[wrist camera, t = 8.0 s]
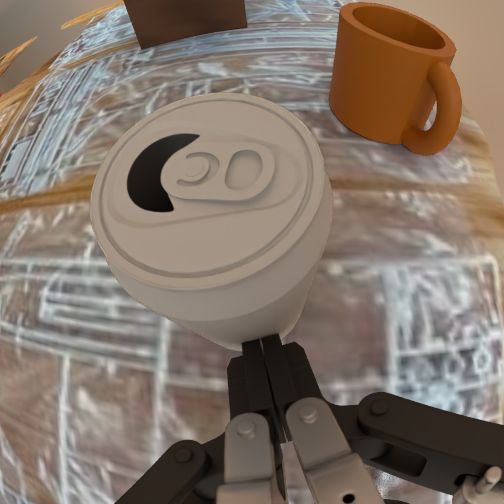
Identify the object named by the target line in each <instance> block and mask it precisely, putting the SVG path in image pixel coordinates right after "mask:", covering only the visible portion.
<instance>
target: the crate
mask: <svg viewBox="0 0 504 504" xmlns="http://www.w3.org/2000/svg"><path fill="white" fill-rule="evenodd" d="M123 1H124V3H125V6H126V9H127V12H128V14H129V17H130V20H131V22H132V25H133V28H134V31H135V33H136V36H137V39H138V41H139V44H140V46H141V49H145V48H148V47H151V46H155V45H159V44H162V43H166V42H170V41H174V40H178V39H182V38H187V37H191V36H196V35H201V34H206V33H212V32H218V31H224V30H230V29H237V28H245V27H247V20H246V12H245V4H244V0H123Z"/></svg>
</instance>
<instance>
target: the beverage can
mask: <svg viewBox="0 0 504 504" xmlns="http://www.w3.org/2000/svg"><path fill="white" fill-rule="evenodd" d="M90 217H91V223H92V228H93V232H94V235H95V237H96V240H97V242H98V244H99V246H100V247H101V249H102V250H103V252H104V254H105V257H106V260H107V263H108V265H109V267H110V269H111V271H112V273H113V275H114V276H115V278H116V279H117V281H118V282H119V283H120V285H121V286H122V287H123V288H124V290H125V291H126V292H127V293H128V294H130V295H131V296H132V297H133V298H134V299H135V300H137V301H138V302H139V303H141V304H142V305H144V306H146V307H148V308H149V309H151V310H153V311H155V312H157V313H158V314H160V315H162V316H164V317H166V318H168V319H169V320H171V321H173V322H175V323H177V324H179V325H181V326H183V327H185V328H187V329H189V330H190V331H192V332H194V333H196V334H198V335H200V336H202V337H204V338H206V339H208V340H210V341H212V342H215V343H217V344H219V345H221V346H223V347H225V348H228V349H231V350H236V351H242V343H243V342H248V341H252V340H256V339H260V342H261V345H262V341H261V338H263V337H266V336H270V335H273V334H277V333H279V336H280V339H281V340H282V339H283V338H284V337H285V336H286V335H287V334H289V332H290V331H291V330H292V329H293V328H294V326H295V325H296V323H297V322H298V320H299V318H300V315H301V313H302V310H303V307H304V305H305V302H306V299H307V297H308V294H309V291H310V289H311V286H312V283H313V280H314V277H315V275H316V272H317V269H318V266H319V263H320V260H321V257H322V255H323V252H324V249H325V246H326V243H327V240H328V237H329V234H330V230H331V225H332V219H333V193H332V188H331V184H330V181H329V177H328V175H327V173H326V170H325V168H324V162H323V157H322V154H321V151H320V148H319V145H318V143H317V141H316V140H315V138H314V136H313V135H312V133H311V132H310V130H309V129H308V128H307V126H306V125H305V124H304V123H303V122H302V121H301V120H300V119H299V118H298V117H296V116H295V115H294V114H293V113H291V112H290V111H288V110H287V109H285V108H284V107H282V106H280V105H278V104H276V103H274V102H272V101H269V100H267V99H263V98H260V97H257V96H253V95H248V94H241V93H228V92H220V93H208V94H201V95H196V96H191V97H187V98H184V99H181V100H178V101H175V102H172V103H170V104H168V105H165V106H163V107H161V108H159V109H157V110H155V111H154V112H152V113H150V114H148V115H147V116H145V117H144V118H142V119H141V120H140V121H138V122H137V123H136V124H135V125H133V126H132V127H131V128H130V129H129V130H128V131H127V132H125V133H124V134H123V135H122V136H121V137H120V138H119V139H118V141H117V142H116V143H115V144H114V145H113V147H112V148H111V149H110V151H109V152H108V154H107V155H106V157H105V158H104V160H103V162H102V164H101V166H100V168H99V170H98V172H97V175H96V178H95V180H94V184H93V188H92V192H91V198H90ZM262 348H263V346H262Z"/></svg>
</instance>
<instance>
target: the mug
mask: <svg viewBox="0 0 504 504" xmlns="http://www.w3.org/2000/svg"><path fill="white" fill-rule="evenodd" d="M455 53H456V48H455V45H454V43H453V42H452V41H451V39H450V38H449V37H448V36H447V35H446V34H445V33H443V32H442V31H441V30H439V29H438V28H437V27H435V26H434V25H432V24H431V23H429V22H427V21H425V20H424V19H422V18H420V17H417V16H415V15H413V14H411V13H408V12H406V11H403V10H400V9H397V8H394V7H390V6H385V5H381V4H376V3H364V2H358V3H349V4H347V5H344V6H342V7H341V10H340V13H339V23H338V32H337V41H336V50H335V58H334V66H333V73H332V81H331V88H330V95H329V102H330V106H331V110H332V111H333V112H334V114H335V115H336V117H337V118H338V120H340V121H341V122H342V123H343V124H344V125H346V126H347V127H348V128H349V129H350V130H352V131H354V132H356V133H358V134H360V135H362V136H363V137H365V138H368V139H372V140H375V141H378V142H381V143H388V144H404V145H405V146H406V147H407V148H408V149H409V150H411V151H412V152H414V153H415V154H419V155H423V156H428V155H434V154H436V153H438V152H439V151H441V150H443V149H444V148H445V147H446V146H447V145H448V144H449V143H450V142H451V141H452V139H453V137H454V135H455V133H456V131H457V129H458V126H459V122H460V118H461V108H462V100H461V93H460V88H459V85H458V83H457V80H456V78H455V75H454V73H453V72H452V70H451V69H450V65H451V63H452V60H453V58H454V55H455ZM435 101H437V113H436V118H435V121H434V124H433V125H432V127H431V128H430V129H429V130H428V131H423V127H424V125H425V123H426V121H427V119H428V117H429V115H430V112H431V110H432V108H433V106H434V104H435Z"/></svg>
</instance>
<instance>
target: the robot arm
mask: <svg viewBox="0 0 504 504" xmlns="http://www.w3.org/2000/svg"><path fill="white" fill-rule="evenodd" d="M261 341H262V345H261V342H260V339H256V340H252V341H248V342H243V343H242V352H243V356H239V357H235V358H232V359H231V361H230V363H229V365H228V367H227V375H228V387H229V388H228V390H229V404H230V422H229V423H228V425H227V426H226V429H225V432H224V433H223V434H222V435H220V436H219V437H217V438H215V439H213V440H211V441H209V442H206V443H204V444H202V445H201V444H200V443H198V442H196V441H194V440H182V441H179V442H177V443H175V444H173V445H172V446H171V447H170V448H169V449H168V450H167V451H166V452H165V453H164V454H163V455H162V456H161V457H160V458H159V459H158V460H157V461H156V462H155V463H154V465H153V466H152V467H151V468H150V469H149V470H148V471H147V472H146V473H145V474H144V475H143V476H142V477H141V478H140V479H139V480H138V481H137V482H136V483H135V484H134V485H133V486H132V487H131V488H130V489H129V490H128V491H127V492H126V493H125V494H124V495H123V496H122V497H121V498H120V499H119V500H118V501H117V502H115V503H114V504H289V503H288V495H287V487H286V479H285V470H284V462H283V454H282V450H281V445H280V444H282V443H286V439H285V435H284V431H285V434H286V437H287V440H288V442H289V441H293V444H294V447H295V450H296V453H297V456H298V459H299V462H300V465H301V468H302V470H303V473H304V476H305V478H306V481H307V484H308V486H309V489H310V492H311V494H312V497H313V500H314V503H315V504H409V503H406V502H402V501H399V500H391V499H383V498H382V497H381V495H380V493H379V491H378V489H377V487H376V485H375V483H374V482H373V480H372V478H371V476H370V474H369V472H368V470H367V468H366V467H365V465H364V463H365V464H367V465H369V466H372V467H374V468H376V469H379V470H381V471H384V472H386V473H389V474H391V475H394V476H396V477H399V478H401V479H404V480H407V481H410V482H412V483H415V484H418V485H421V486H424V487H427V488H430V489H433V490H436V491H440V492H443V493H446V494H450V495H453V498H452V504H504V425H500V424H496V423H491V422H487V421H483V420H479V419H475V418H471V417H467V416H463V415H459V414H456V413H452V412H448V411H445V410H441V409H438V408H434V407H431V406H428V405H424V404H421V403H418V402H415V401H411V400H408V399H405V398H402V397H399V396H396V395H393V394H390V393H386V392H377V393H372V394H370V395H368V396H366V397H365V398H363V399H362V400H361V401H360V403H359V404H358V405H347V406H340V405H335V404H332V403H330V402H328V401H327V400H325V399H324V397H323V396H322V394H321V392H320V389H319V387H318V384H317V381H316V379H315V376H314V374H313V371H312V369H311V367H310V364H309V361H308V359H307V356H306V354H305V351H304V349H303V348H302V347H301V346H300V345H299V344H297V343H296V342H292V343H289V344H285V345H282V343H281V339H280V336H279V333H277V334H273V335H270V336H266V337H263V338H261ZM262 346H263V348H262ZM263 350H264V351H263ZM282 425H283V426H282ZM283 428H284V430H283Z"/></svg>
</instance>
